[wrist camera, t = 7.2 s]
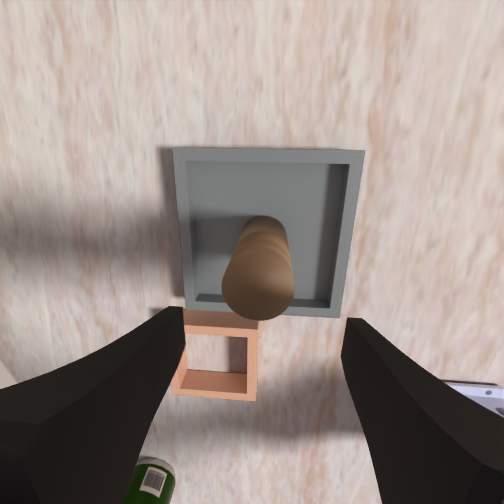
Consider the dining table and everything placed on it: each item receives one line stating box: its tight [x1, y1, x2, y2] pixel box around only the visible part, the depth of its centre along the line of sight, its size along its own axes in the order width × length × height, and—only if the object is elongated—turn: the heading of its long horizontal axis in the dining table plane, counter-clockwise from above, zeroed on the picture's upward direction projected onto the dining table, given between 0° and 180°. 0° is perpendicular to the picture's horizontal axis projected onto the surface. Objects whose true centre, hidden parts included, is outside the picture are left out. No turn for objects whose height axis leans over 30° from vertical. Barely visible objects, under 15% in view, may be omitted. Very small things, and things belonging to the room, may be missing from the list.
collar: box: [171, 309, 259, 401], centre depth 23 cm, size 8×8×2 cm
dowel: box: [221, 216, 295, 321], centre depth 16 cm, size 3×3×8 cm
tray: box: [172, 147, 365, 318], centre depth 19 cm, size 12×12×2 cm
